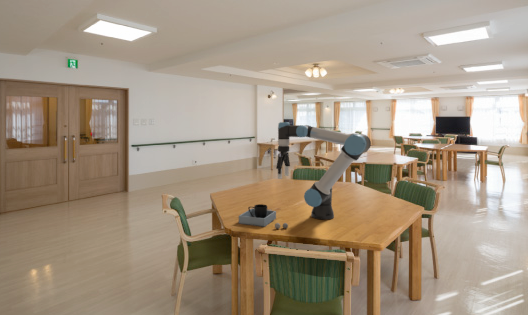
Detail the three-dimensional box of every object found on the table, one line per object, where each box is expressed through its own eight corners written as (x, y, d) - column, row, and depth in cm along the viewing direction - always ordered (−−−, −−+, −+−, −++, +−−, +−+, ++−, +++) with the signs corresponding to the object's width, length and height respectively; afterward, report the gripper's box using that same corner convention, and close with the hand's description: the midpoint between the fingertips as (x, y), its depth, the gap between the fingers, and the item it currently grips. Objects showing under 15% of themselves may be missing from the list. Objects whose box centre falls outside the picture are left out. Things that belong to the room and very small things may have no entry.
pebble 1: (281, 228, 196) (281, 222, 195) (279, 229, 193) (279, 224, 192) (275, 227, 197) (275, 221, 197) (273, 229, 194) (273, 223, 194)
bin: (276, 218, 216) (276, 211, 215) (264, 227, 198) (264, 219, 197) (251, 215, 222) (251, 208, 222) (238, 223, 204) (238, 215, 204)
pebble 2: (288, 227, 196) (288, 222, 196) (286, 229, 194) (287, 224, 193) (283, 227, 198) (283, 222, 197) (281, 228, 195) (281, 223, 194)
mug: (249, 218, 214) (249, 204, 213) (267, 218, 213) (267, 204, 212) (247, 221, 206) (247, 207, 205) (266, 222, 205) (266, 207, 204)
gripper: (284, 144, 230) (284, 174, 232) (271, 146, 207) (271, 179, 209) (294, 144, 227) (294, 174, 229) (282, 146, 204) (282, 180, 206)
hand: (283, 177), depth 219 cm, fingers open, 13 cm apart
